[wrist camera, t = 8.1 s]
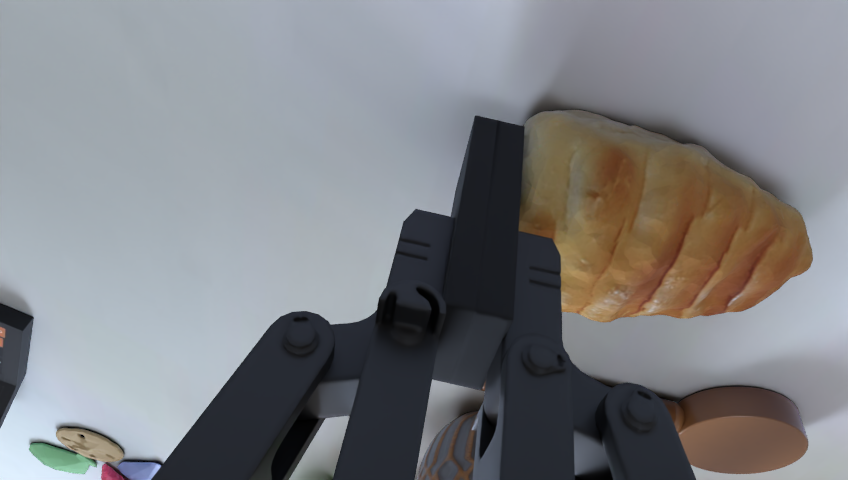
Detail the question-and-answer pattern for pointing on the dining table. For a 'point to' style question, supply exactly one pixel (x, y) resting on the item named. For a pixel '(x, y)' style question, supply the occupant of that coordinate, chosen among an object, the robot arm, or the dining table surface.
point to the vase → (451, 452)
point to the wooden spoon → (738, 429)
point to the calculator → (12, 354)
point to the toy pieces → (90, 456)
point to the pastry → (652, 221)
